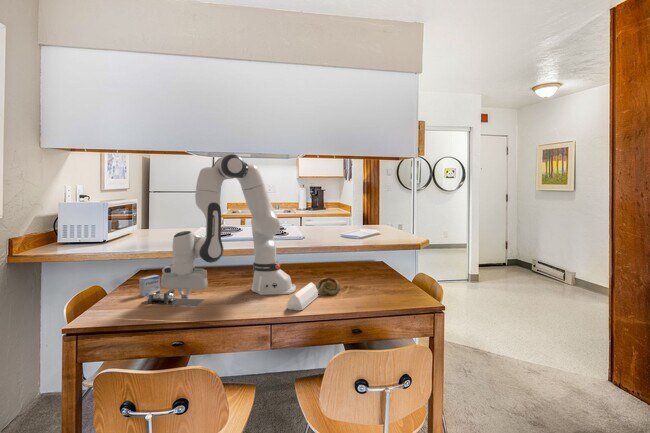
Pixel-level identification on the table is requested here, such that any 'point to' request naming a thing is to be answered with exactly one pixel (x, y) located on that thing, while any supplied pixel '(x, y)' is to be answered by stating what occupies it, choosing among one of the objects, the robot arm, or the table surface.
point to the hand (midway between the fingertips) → (185, 298)
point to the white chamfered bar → (303, 297)
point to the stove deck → (176, 301)
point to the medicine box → (149, 284)
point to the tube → (161, 297)
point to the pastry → (327, 286)
